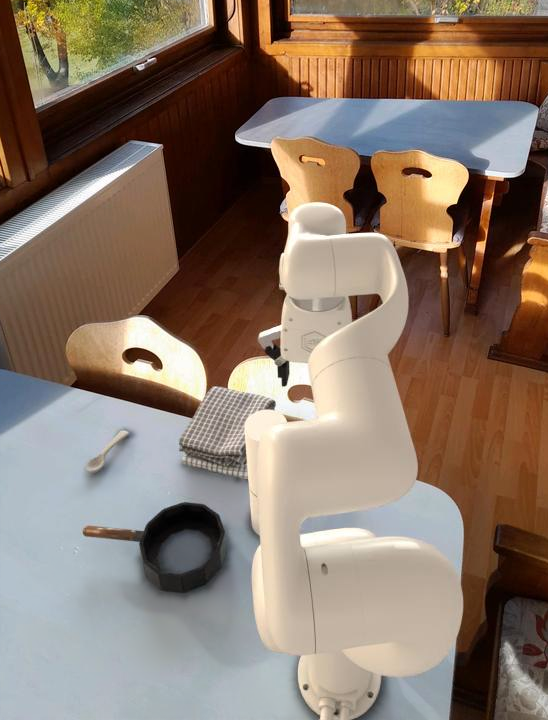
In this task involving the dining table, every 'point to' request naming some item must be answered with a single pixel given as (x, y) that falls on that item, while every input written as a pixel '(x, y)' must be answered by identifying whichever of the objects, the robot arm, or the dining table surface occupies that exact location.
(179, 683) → the dining table surface
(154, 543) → the pan
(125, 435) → the spoon
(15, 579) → the dining table surface
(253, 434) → the cylindrical container
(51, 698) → the dining table surface
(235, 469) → the towel
